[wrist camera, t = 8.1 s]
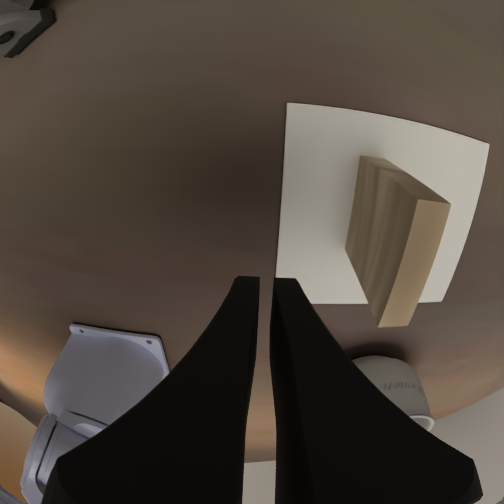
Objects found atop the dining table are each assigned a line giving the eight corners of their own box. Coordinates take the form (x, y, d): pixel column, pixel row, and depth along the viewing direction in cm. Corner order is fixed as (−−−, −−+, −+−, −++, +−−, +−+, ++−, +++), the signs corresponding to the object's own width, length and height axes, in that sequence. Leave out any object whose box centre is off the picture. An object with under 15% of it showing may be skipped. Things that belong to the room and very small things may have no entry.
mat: (273, 299, 21) (273, 302, 20) (286, 102, 14) (287, 102, 14) (439, 298, 20) (441, 301, 20) (486, 142, 14) (489, 144, 14)
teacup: (415, 378, 26) (436, 438, 19) (326, 412, 29) (333, 473, 22) (392, 296, 20) (430, 379, 14) (268, 349, 24) (268, 435, 17)
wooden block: (344, 248, 18) (377, 327, 12) (359, 155, 15) (417, 199, 9) (367, 250, 18) (407, 325, 12) (385, 158, 15) (451, 203, 9)
